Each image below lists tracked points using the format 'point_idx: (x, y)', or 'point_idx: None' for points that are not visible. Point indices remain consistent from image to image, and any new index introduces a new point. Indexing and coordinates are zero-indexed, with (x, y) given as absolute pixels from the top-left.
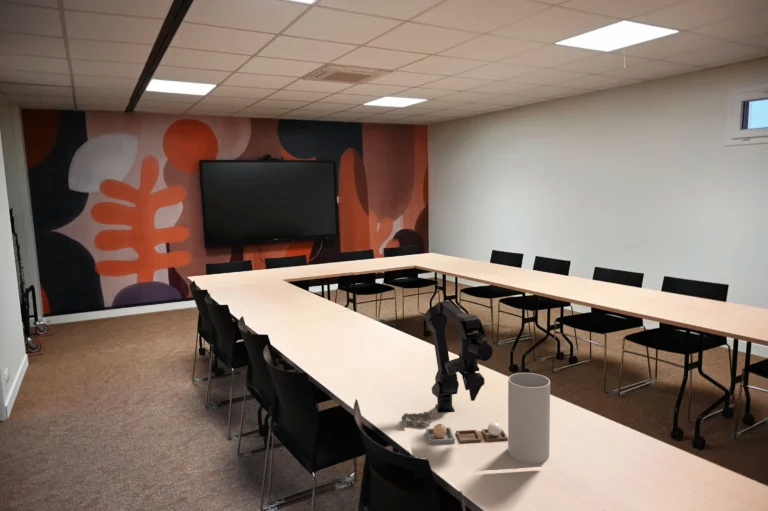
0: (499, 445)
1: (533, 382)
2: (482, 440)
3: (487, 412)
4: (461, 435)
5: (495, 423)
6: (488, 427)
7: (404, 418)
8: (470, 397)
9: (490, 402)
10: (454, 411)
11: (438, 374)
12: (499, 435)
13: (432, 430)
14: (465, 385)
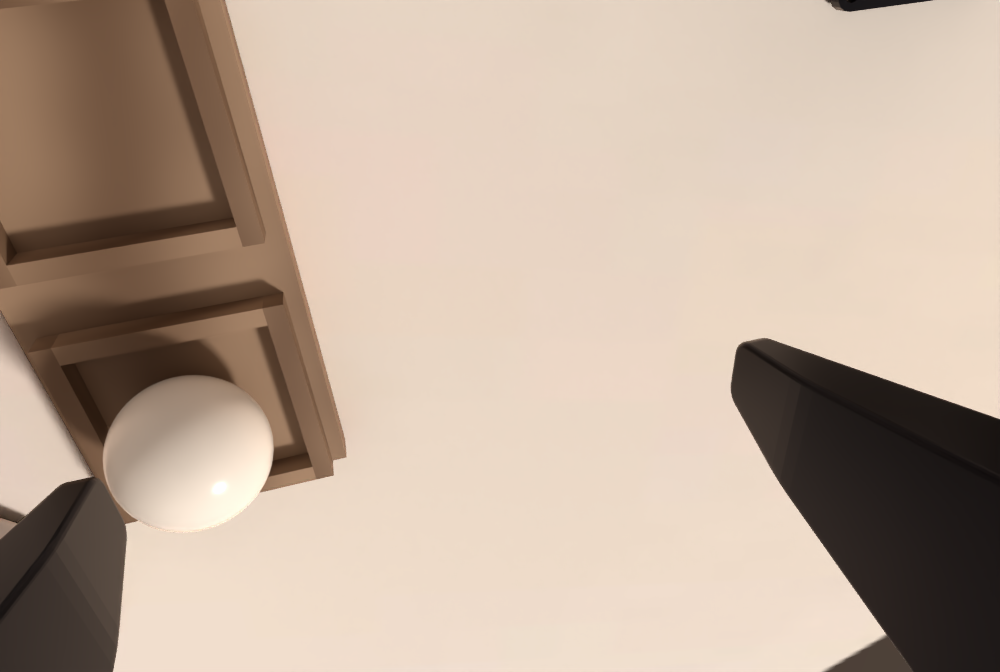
0: (62, 425)
1: None
2: (46, 291)
3: (734, 340)
4: (124, 34)
5: (170, 515)
6: (158, 415)
7: None
8: (38, 533)
9: (896, 366)
10: (835, 8)
11: None
12: None
13: None
14: (817, 406)
